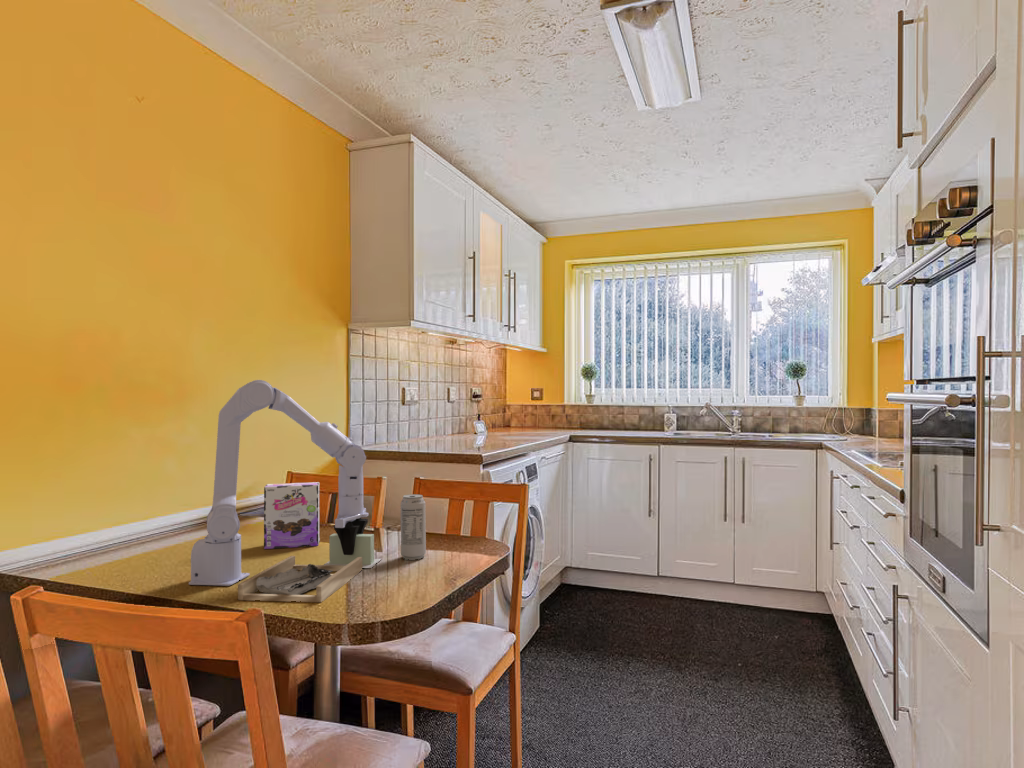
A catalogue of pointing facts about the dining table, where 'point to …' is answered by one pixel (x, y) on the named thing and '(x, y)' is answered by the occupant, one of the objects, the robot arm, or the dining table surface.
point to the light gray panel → (362, 564)
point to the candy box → (291, 515)
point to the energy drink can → (413, 527)
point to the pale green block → (361, 549)
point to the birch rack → (322, 590)
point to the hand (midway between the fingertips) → (351, 552)
